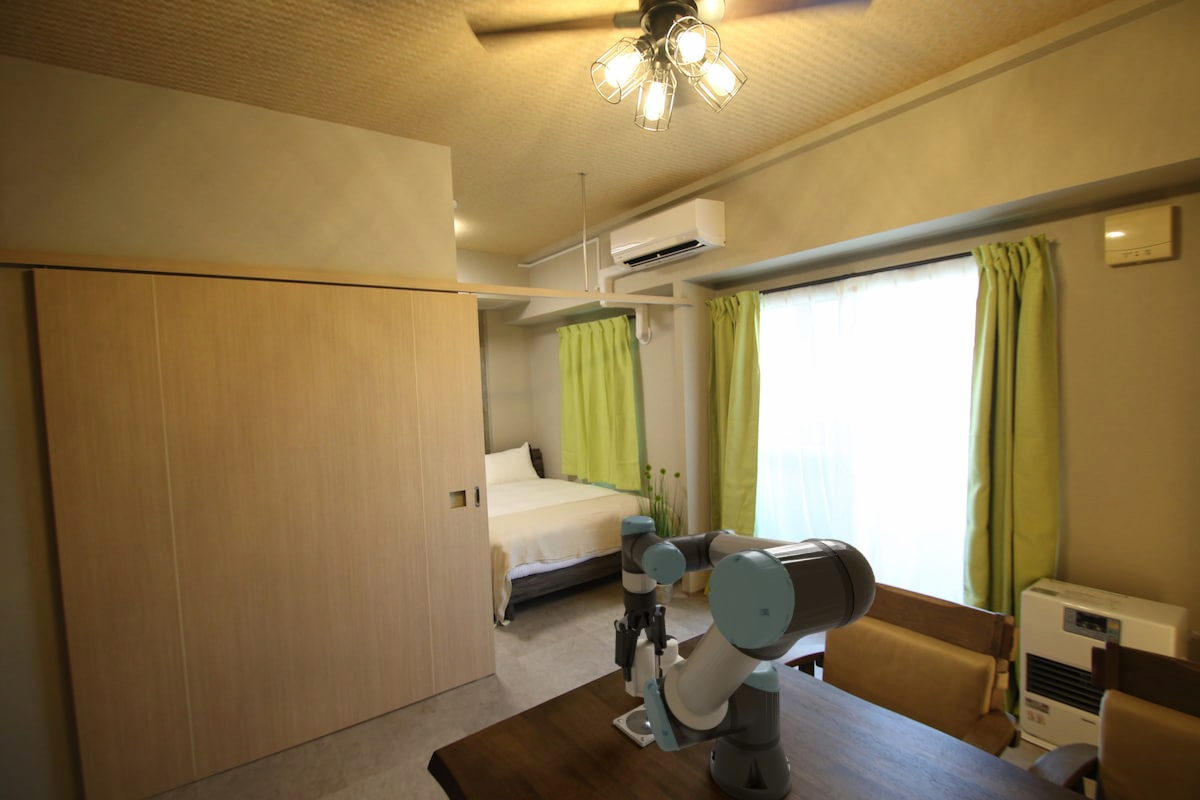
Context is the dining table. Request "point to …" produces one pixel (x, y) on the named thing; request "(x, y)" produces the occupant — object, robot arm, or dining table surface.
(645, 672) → the elbow
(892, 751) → the dining table surface
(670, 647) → the medicine bottle
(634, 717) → the flange plate
